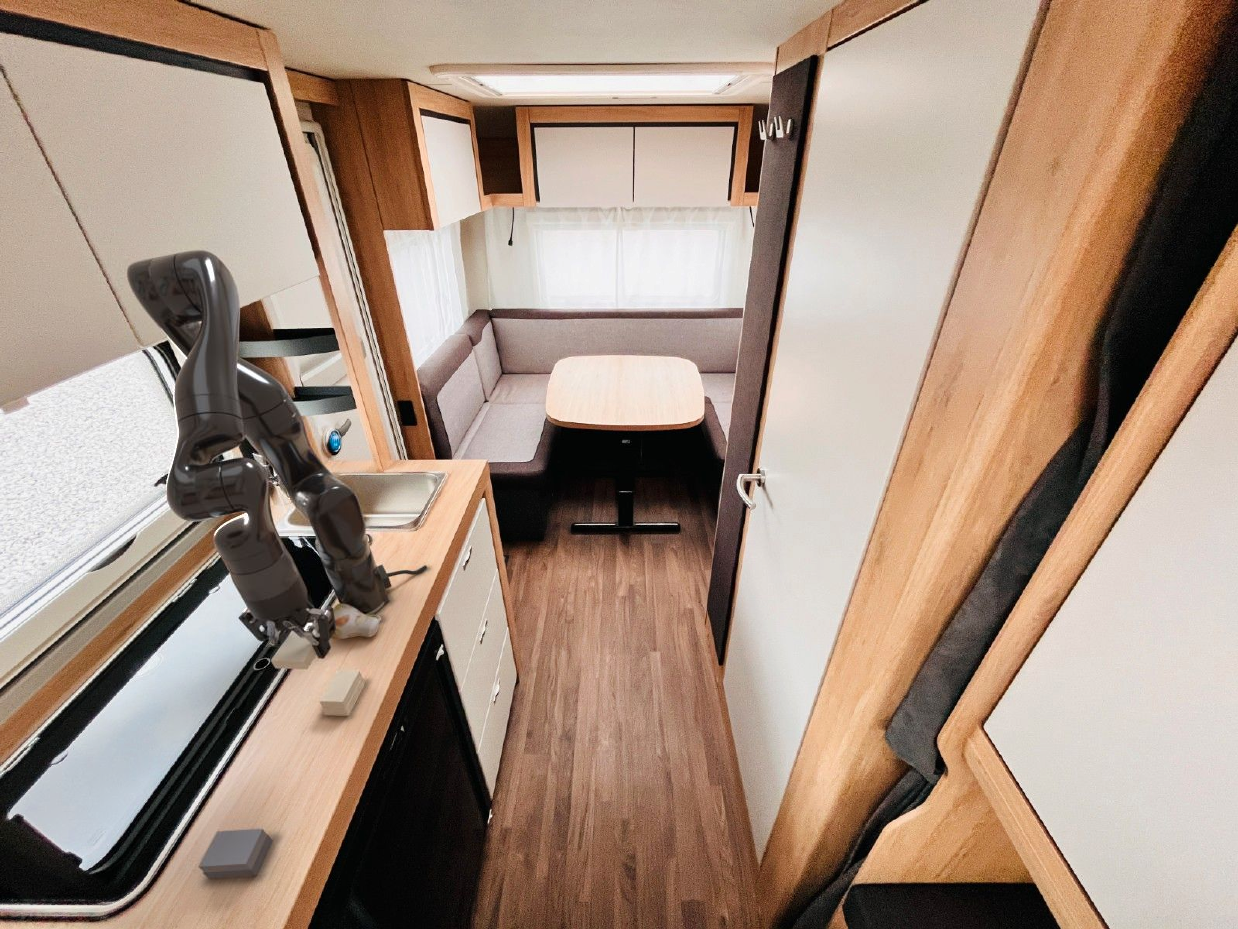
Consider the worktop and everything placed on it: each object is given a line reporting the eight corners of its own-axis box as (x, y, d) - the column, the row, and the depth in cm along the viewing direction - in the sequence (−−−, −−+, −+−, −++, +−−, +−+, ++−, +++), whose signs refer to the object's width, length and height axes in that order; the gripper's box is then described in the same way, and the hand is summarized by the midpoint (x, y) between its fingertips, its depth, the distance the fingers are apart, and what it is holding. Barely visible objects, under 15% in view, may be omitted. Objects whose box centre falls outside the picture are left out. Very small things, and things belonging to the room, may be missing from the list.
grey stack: (208, 879, 72) (196, 867, 69) (227, 843, 75) (216, 830, 73) (256, 876, 72) (245, 864, 70) (273, 840, 76) (262, 828, 73)
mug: (378, 647, 105) (339, 625, 99) (347, 652, 109) (307, 633, 103) (392, 613, 110) (355, 591, 104) (362, 620, 114) (325, 599, 108)
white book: (307, 669, 80) (303, 661, 79) (275, 668, 80) (270, 660, 79) (332, 630, 86) (328, 622, 85) (302, 629, 86) (298, 621, 85)
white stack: (343, 682, 98) (336, 669, 96) (365, 683, 98) (359, 670, 95) (325, 715, 92) (318, 702, 90) (348, 716, 92) (342, 703, 90)
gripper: (329, 563, 77) (360, 636, 87) (238, 561, 78) (278, 634, 87) (302, 600, 71) (338, 675, 80) (202, 598, 72) (250, 672, 81)
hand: (307, 653), depth 84 cm, fingers closed on white book, 5 cm apart
